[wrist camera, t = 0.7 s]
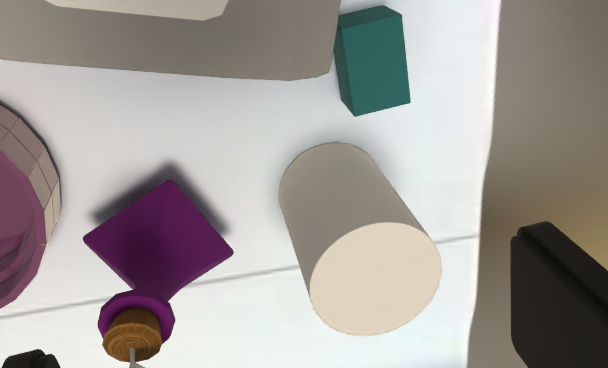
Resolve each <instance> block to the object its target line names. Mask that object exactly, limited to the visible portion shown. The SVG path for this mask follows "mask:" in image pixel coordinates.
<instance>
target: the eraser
mask: <svg viewBox="0 0 608 368" xmlns="http://www.w3.org/2000/svg"><path fill="white" fill-rule="evenodd" d="M333 50H334V56H335V62H336V69H337V75H338V81H339V87H340V93H341V99H342V102H343V103H344V104H345V105H346V107H347V108H348V109H349V110H350V112H351V113H352V114H353V115H354V116H355V117H356V116H360V115H364V114H368V113H372V112H376V111H380V110H384V109H388V108H392V107H396V106H400V105H404V104H408V103H410V92H409V82H408V72H407V62H406V53H405V43H404V33H403V23H402V15H401V14H400V13H398V12H396V11H394V10H392V9H390V8H388V7H386V6H380V7H375V8H371V9H367V10H363V11H358V12H354V13H350V14H346V15H341V16H338V23H337V29H336V36H335V42H334V49H333Z"/></svg>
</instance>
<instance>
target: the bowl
mask: <svg viewBox="0 0 608 368" xmlns="http://www.w3.org/2000/svg"><path fill="white" fill-rule="evenodd" d="M60 210H61V202H60V187H59V178H58V175H57V172H56V170H55V168H54V166H53V163H52V161H51V159H50V157H49V154H48V152H47V150H46V148H45V147H44V145H43V143H42V142H41V141H40V140H39V139H38V138H37V137H36V136H35V134H34V133H33V132H32V131H31V130H30V129H29V128H28V127H27V125H26V124H25V123H24V122H23V121H22V120H21V119H20V118H19V117H18V116H17V115H15V114H13V113H12V112H10V111H9V110H7V109H6V108H4V107H3V106H1V105H0V309H1V308H2V307H4V306H6V305H7V304H9V303H11V302H13V301H14V300H16V299H17V297H18V296H19V295H20V294H21V293H22V292H23V290H24V289H25V288H26V287H27V286H28V284H29V283H30V282H31V281H32V280H33V279H34V277H35V276H36V274H37V273H38V270H39V267H40V265H41V262H42V260H43V257H44V255H45V252H46V249H47V247H48V244H49V242H50V239H51V237H52V234H53V231H54V228H55V225H56V222H57V219H58V216H59V213H60Z"/></svg>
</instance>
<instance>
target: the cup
mask: <svg viewBox="0 0 608 368" xmlns="http://www.w3.org/2000/svg"><path fill="white" fill-rule="evenodd" d="M279 201H280V206H281V209H282V212H283V215H284V219H285V222H286V225H287V228H288V231H289V234H290V237H291V240H292V244H293V247H294V250H295V253H296V256H297V259H298V262H299V266H300V269H301V272H302V275H303V278H304V281H305V284H306V287H307V291H308V294H309V297H310V300H311V303H312V306H313V308H314V310H315V312H316V314H317V315H318V317H319V318H320V319H321V320H322V321H323V322H324V323H325V324H326V325H328V326H329V327H331V328H332V329H334V330H336V331H339V332H341V333H345V334H349V335H355V336H371V335H378V334H382V333H386V332H389V331H392V330H395V329H397V328H399V327H401V326H403V325H405V324H406V323H408V322H409V321H411V320H412V319H414V318H415V317H416V316H417V315H419V314H420V313H421V312H422V311H423V310H424V309H425V308H426V306H427V305H428V304H429V303H430V301H431V300H432V298H433V297H434V295H435V293H436V291H437V289H438V286H439V283H440V279H441V274H442V263H441V257H440V254H439V251H438V249H437V247H436V246H435V244H434V243H433V241H432V240H431V238H430V237H429V236H428V234H427V233H426V232H425V230H424V229H423V228H422V226H421V225H420V223H419V222H418V221H417V219H416V218H415V217H414V215H413V214H412V213H411V211H410V210H409V208H408V207H407V206H406V204H405V203H404V202H403V200H402V199H401V198H400V196H399V195H398V193H397V192H396V191H395V189H394V188H393V187H392V185H391V184H390V183H389V181H388V180H387V178H386V177H385V176H384V174H383V173H382V172H381V170H380V169H379V168H378V166H377V165H376V163H375V162H374V161H373V159H372V158H371V157H370V156H369V155H368V154H367V153H366V152H364V151H363V150H361V149H360V148H358V147H355V146H353V145H350V144H345V143H326V144H322V145H318V146H315V147H313V148H311V149H309V150H307V151H305V152H304V153H302V154H301V155H299V156H298V157H297V158H296V159H295V160H294V161H293V162H292V163H291V164H290V165H289V167H288V168H287V170H286V171H285V173H284V175H283V178H282V180H281V183H280V188H279Z"/></svg>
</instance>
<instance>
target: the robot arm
mask: <svg viewBox="0 0 608 368" xmlns="http://www.w3.org/2000/svg"><path fill="white" fill-rule="evenodd" d="M511 338H512V342H513V345H514V348H515V350H516V351H517V353H518V355H519V356H520V357H521V359H522V360H523V361H524V362H525V364H526V365H527V367H528V368H608V271H607V270H606V269H605V268H604V267H603V266H601V265H600V264H599V263H598V262H597V261H596V260H594V259H593V258H592V257H591V256H589V255H588V254H587V253H586V252H585V251H583V250H582V249H581V248H580V247H579V246H578V245H577V244H575V243H574V242H573V241H572V240H570V239H569V238H568V237H567V236H566V235H565V234H564V233H562V232H561V231H560V230H559V229H558V228H556V227H555V226H554V225H553V224H552V223H550V222H547V221H544V222H540V223H537V224H533V225H529V226H525V227H521V228H519V230H518V232H517V236H514V237H512V239H511ZM2 368H60V366H59V364H58V361H57V359H56V358H55V356H54V355H53V354H48V355H45V353H44V352H43V351H42V350H39V349H37V350H33V351H29V352H25V353H21V354H17V355H13V356H9V357H8V358H6V360H5V362H4V364H3V366H2Z"/></svg>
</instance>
